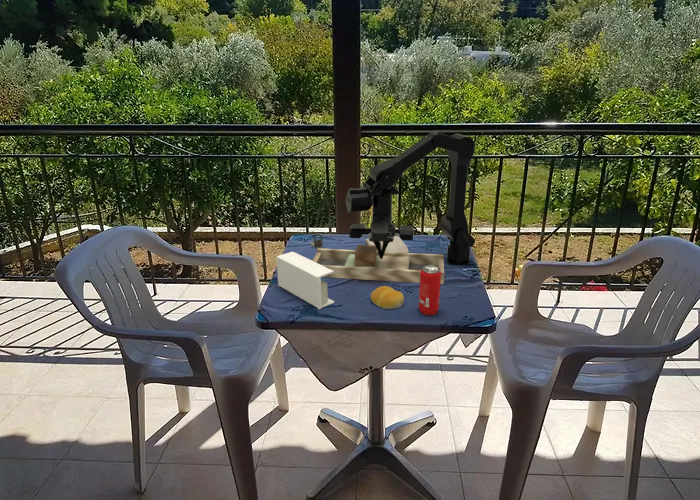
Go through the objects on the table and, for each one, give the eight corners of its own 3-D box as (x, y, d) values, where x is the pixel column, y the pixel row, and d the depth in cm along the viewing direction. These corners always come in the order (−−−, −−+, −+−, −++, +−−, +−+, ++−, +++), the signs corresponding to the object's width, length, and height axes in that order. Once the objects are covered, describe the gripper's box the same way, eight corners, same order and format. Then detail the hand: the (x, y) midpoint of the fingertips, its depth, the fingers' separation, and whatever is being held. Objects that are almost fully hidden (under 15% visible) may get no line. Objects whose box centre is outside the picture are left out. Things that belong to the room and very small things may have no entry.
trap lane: (442, 265, 160) (443, 254, 158) (443, 284, 147) (444, 273, 146) (317, 258, 165) (317, 248, 164) (308, 276, 152) (307, 265, 151)
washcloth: (376, 263, 162) (376, 254, 161) (364, 244, 179) (364, 235, 178) (412, 260, 164) (412, 251, 163) (396, 241, 181) (397, 233, 180)
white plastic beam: (334, 303, 137) (334, 271, 133) (318, 310, 133) (317, 277, 130) (291, 279, 151) (290, 250, 147) (275, 285, 147) (273, 255, 144)
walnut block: (376, 259, 158) (376, 245, 156) (374, 266, 153) (375, 252, 151) (357, 258, 159) (357, 244, 157) (354, 265, 153) (354, 251, 152)
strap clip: (309, 244, 178) (308, 233, 176) (317, 243, 179) (316, 231, 177) (319, 252, 171) (318, 240, 169) (327, 251, 172) (326, 239, 170)
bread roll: (389, 313, 131) (389, 299, 130) (365, 301, 138) (365, 288, 136) (411, 303, 136) (411, 290, 135) (387, 292, 143) (387, 279, 141)
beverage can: (416, 306, 134) (418, 265, 130) (435, 306, 135) (438, 264, 130) (420, 316, 129) (423, 273, 125) (440, 315, 130) (443, 272, 125)
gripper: (346, 216, 142) (347, 267, 148) (413, 218, 140) (411, 270, 146) (351, 205, 153) (352, 253, 158) (414, 207, 150) (412, 256, 156)
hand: (381, 258), depth 154 cm, fingers closed
